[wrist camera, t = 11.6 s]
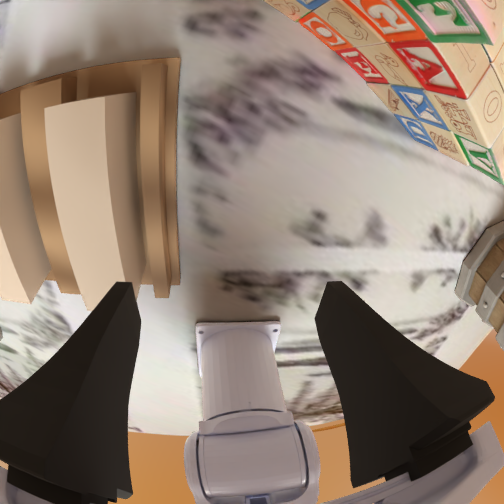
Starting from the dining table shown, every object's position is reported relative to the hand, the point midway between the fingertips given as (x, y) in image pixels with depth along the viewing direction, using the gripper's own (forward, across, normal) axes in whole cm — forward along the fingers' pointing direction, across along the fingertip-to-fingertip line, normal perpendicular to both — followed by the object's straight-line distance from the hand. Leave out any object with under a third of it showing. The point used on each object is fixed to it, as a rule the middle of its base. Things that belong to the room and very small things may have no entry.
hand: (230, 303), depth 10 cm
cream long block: (+9, +7, -1) cm, 12 cm away
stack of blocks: (+10, -6, -14) cm, 19 cm away
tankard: (+10, -38, +7) cm, 40 cm away
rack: (+10, +11, -1) cm, 15 cm away
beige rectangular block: (+9, +15, -1) cm, 18 cm away
